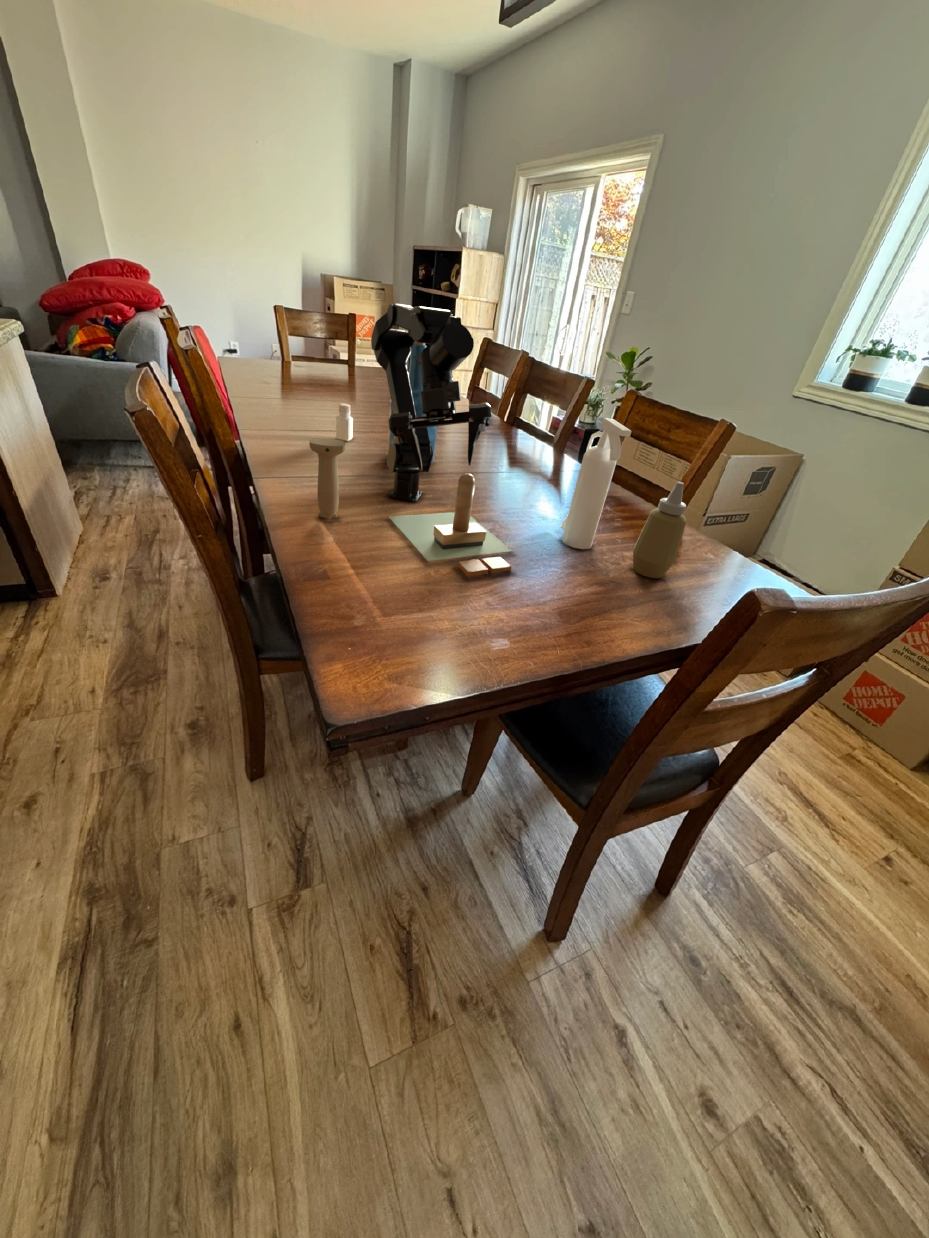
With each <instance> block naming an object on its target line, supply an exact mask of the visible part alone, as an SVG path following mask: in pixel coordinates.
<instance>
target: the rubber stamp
mask: <svg viewBox="0 0 929 1238" xmlns="http://www.w3.org/2000/svg"><path fill="white" fill-rule="evenodd" d="M457 482H458V484H457V490H456V491H457V492H456V499H455V506H454V512H455V513H454V521H453V524H450V525H437V526H434V533H433V535H434V541H435V542H436V543H437V544H438V545H439V546H440V547H441V548H442V549H453V548H463V547H472V546H482V545H483V541H485V537H486V531H485V530H484V529H483V528H481V527H480V526H479V525H478V524H477V523H469V522H470V516H471V514H472V508H473V500H474V495H475V488H476V479H475V477H474V475H472V474H471V473H463V474H461V475H460V477H459V478H458V481H457Z"/></svg>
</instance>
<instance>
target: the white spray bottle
mask: <svg viewBox="0 0 929 1238" xmlns="http://www.w3.org/2000/svg"><path fill="white" fill-rule="evenodd" d="M599 428H601V429H603V431H600V430H598V431H596V432H594V433H592V434H591V435H590V438H589V440H588V443H587V446H586V449H585V452H584V453H583V456H582V460H581V464H580V467H579V472H578V476H577V479H576V483H575V487H574V491H573V494H572V498H571V502H570V506H569V510H568V513H567V515H566V516H565V518H564V519H563V521H562V522H561V524H560V527H559V528H560V529H562V530H563V533H562V536H561V541H562V543H564V545H566V546H568V547H571V548H574V549H579V550H588V549H591V548H592V546H593V543H594V540H595V537H596V533H597V530H598V526H599V523H600V519H601V516H602V513H603V509H604V506H605V503H606V499H607V496H608V493H609V488H610V486H611V483H612V480H613V475H614V472H615V468H616V467H617V463H618V461H619V460H621V454H622V442H621V437H628V438H630V437H631V434H632V432H633V431H632V430H631V429H630V428H628V427H626V426H625V425H623V424H622V423H620V422H618V421H617V420H616V419H614V418H609V417H603V419H602V421H601V423H600V425H599ZM598 437H599V439H598V442H597V444H596V445H595V446H592V445H593V442H594V439H595V438H598Z"/></svg>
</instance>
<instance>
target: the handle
mask: <svg viewBox="0 0 929 1238" xmlns="http://www.w3.org/2000/svg"><path fill="white" fill-rule="evenodd" d="M346 448H347V443H346V441H344V440H338V439H336V438H330V437H329V438H328V437H312V438H310V439H309V449H310V450H311V451H313V452H314V453H316V454H317V458H318V466H317V467H318V468H317V503H318V504H317V505H318V509H319V517H321V518H324V519H328V520H330V519H335V518H337V517H338V511H339V502H340V501H339V500H340V488H339V486H340V485H339V473H338V472H339V470H338V456H339V455H342V454H343V453H344V452H346V450H347V449H346Z"/></svg>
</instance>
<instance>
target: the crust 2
mask: <svg viewBox="0 0 929 1238" xmlns="http://www.w3.org/2000/svg"><path fill="white" fill-rule="evenodd" d="M480 562H481V563H482V564H483V565H484V566H485V567H486V568H487V569H488V572H490V573H491V574H496V573H503V572H511V571H512V566H511V564H509V563H508V562H507V561H506V560H505V559H503V557H501V556H494V557H484V558H481V561H480Z"/></svg>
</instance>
